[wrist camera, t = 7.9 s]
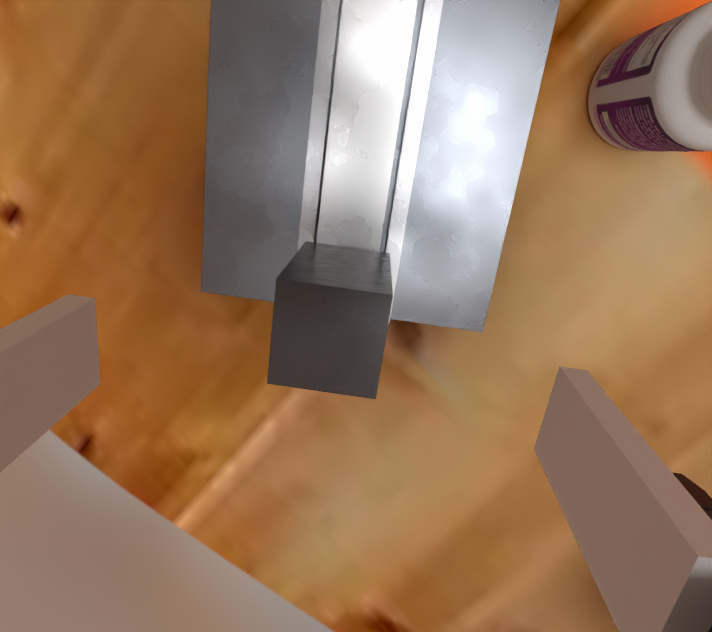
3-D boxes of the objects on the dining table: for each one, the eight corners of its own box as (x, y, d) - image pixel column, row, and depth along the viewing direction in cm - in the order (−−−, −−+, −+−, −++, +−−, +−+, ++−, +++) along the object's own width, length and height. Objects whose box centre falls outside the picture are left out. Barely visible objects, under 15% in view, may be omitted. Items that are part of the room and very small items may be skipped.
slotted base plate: (478, 324, 29) (509, 382, 22) (207, 285, 29) (152, 330, 22) (627, -323, 20) (761, -578, 13) (233, -379, 20) (153, -663, 13)
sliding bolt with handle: (377, 312, 28) (375, 398, 18) (306, 302, 28) (267, 383, 18) (430, -21, 22) (465, -142, 13) (342, -34, 22) (313, -164, 13)
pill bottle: (695, 138, 25) (870, 134, 16) (588, 160, 26) (699, 168, 17) (696, 21, 24) (891, -57, 15) (581, 46, 24) (701, -13, 15)
